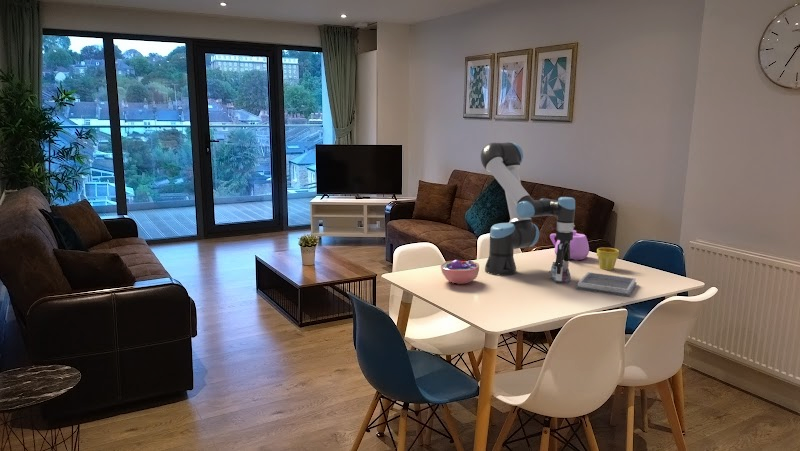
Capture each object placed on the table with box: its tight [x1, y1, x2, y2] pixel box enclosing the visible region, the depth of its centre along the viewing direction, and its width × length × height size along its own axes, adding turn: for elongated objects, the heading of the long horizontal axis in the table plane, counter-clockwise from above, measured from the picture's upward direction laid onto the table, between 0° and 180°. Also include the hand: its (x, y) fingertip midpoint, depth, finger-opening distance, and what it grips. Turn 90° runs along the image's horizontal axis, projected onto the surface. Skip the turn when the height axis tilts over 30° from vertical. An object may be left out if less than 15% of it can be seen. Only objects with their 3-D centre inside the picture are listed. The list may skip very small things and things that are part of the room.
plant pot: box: [596, 247, 620, 271], centre depth 286 cm, size 10×10×10 cm
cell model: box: [440, 259, 480, 285], centre depth 256 cm, size 17×20×11 cm
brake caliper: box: [548, 261, 572, 284], centre depth 262 cm, size 11×11×12 cm
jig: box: [575, 271, 638, 298], centre depth 253 cm, size 22×22×3 cm
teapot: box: [549, 229, 590, 261], centre depth 306 cm, size 23×21×15 cm
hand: (561, 277), depth 262 cm, fingers closed on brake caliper, 11 cm apart
